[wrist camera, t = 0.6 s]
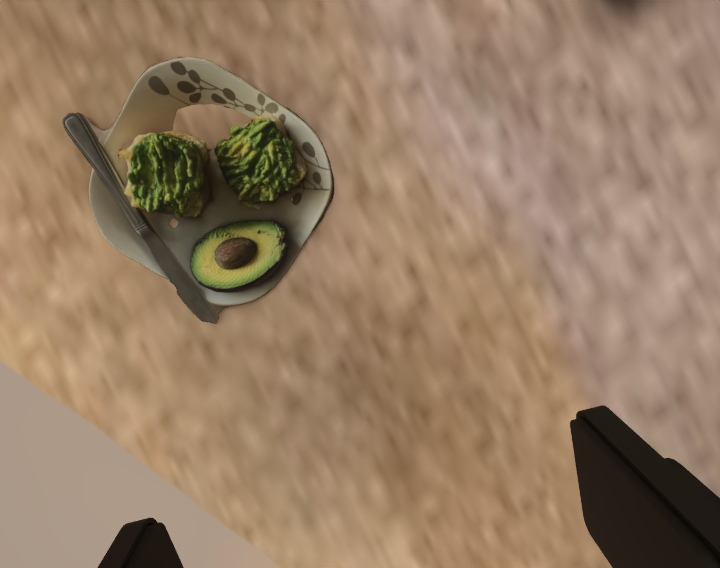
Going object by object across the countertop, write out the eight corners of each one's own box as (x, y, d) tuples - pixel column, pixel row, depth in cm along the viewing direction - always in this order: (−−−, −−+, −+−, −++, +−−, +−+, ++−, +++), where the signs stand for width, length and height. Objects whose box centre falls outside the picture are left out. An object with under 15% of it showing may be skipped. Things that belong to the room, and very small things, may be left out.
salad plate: (31, 208, 36) (-12, 214, 31) (139, 1, 32) (107, -25, 28) (243, 335, 39) (231, 357, 35) (360, 160, 36) (363, 160, 32)
